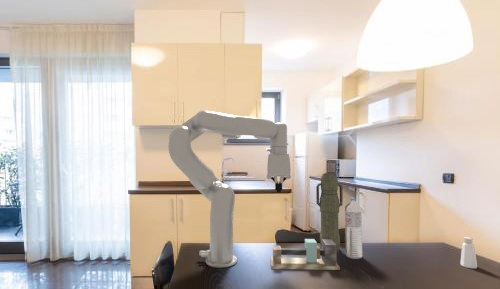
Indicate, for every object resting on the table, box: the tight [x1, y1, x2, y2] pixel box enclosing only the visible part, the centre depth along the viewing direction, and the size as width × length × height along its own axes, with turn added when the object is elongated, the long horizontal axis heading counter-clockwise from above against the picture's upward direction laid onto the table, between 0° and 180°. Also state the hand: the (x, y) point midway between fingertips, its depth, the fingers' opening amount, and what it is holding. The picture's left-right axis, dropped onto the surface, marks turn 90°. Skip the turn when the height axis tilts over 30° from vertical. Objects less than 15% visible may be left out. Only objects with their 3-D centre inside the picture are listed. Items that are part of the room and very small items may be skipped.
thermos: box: [315, 172, 344, 253], centre depth 126 cm, size 9×12×35 cm
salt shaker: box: [459, 236, 478, 269], centre depth 107 cm, size 5×5×11 cm
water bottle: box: [344, 197, 363, 260], centre depth 117 cm, size 7×7×25 cm
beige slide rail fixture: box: [269, 239, 341, 271], centre depth 108 cm, size 26×9×9 cm, turn 88°
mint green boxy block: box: [304, 238, 318, 262], centre depth 108 cm, size 4×5×8 cm
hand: (278, 191), depth 121 cm, fingers closed
